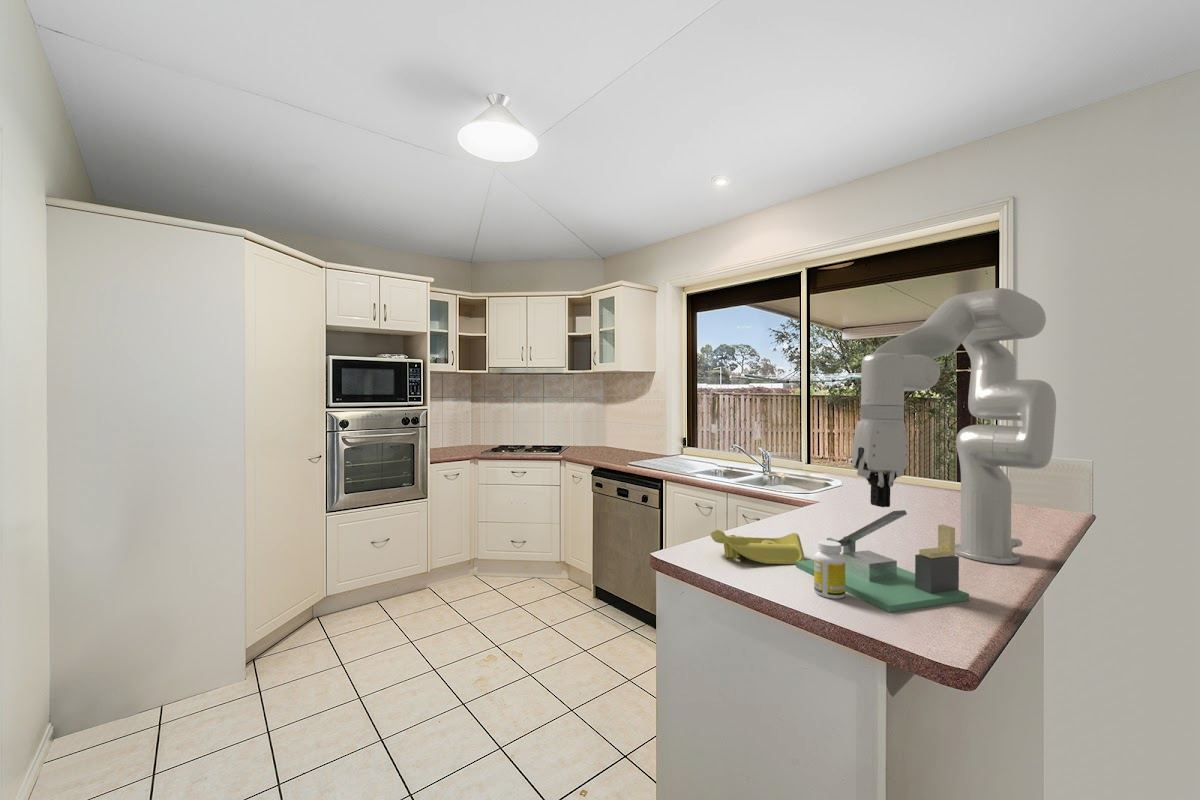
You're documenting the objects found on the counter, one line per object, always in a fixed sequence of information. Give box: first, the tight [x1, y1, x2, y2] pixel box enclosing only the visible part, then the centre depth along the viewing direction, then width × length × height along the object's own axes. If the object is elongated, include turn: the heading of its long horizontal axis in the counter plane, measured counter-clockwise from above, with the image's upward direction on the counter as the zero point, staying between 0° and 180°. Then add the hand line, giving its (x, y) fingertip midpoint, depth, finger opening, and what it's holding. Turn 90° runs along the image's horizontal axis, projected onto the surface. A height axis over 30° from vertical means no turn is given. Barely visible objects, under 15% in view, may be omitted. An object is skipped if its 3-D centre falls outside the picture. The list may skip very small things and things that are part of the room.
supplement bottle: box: [813, 539, 846, 600], centre depth 92 cm, size 5×5×10 cm
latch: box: [918, 524, 956, 559], centre depth 92 cm, size 6×2×5 cm, turn 107°
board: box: [795, 535, 970, 613], centre depth 98 cm, size 19×24×6 cm
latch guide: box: [914, 553, 960, 594], centre depth 92 cm, size 7×3×6 cm, turn 107°
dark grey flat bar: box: [838, 509, 908, 547], centre depth 100 cm, size 3×18×1 cm
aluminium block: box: [841, 550, 898, 581], centre depth 100 cm, size 7×7×4 cm
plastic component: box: [710, 529, 805, 565], centre depth 113 cm, size 20×7×10 cm
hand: (880, 505), depth 97 cm, fingers closed
